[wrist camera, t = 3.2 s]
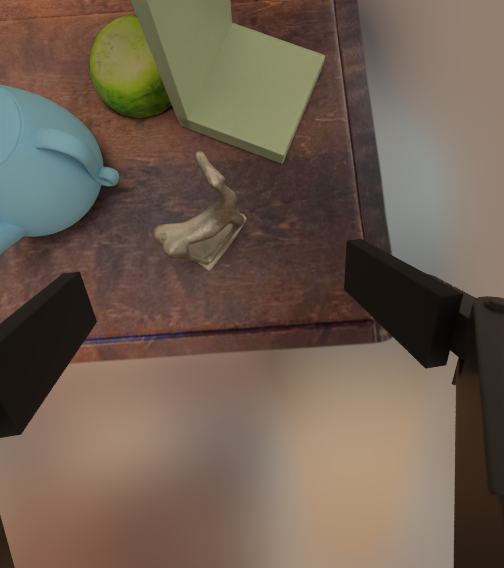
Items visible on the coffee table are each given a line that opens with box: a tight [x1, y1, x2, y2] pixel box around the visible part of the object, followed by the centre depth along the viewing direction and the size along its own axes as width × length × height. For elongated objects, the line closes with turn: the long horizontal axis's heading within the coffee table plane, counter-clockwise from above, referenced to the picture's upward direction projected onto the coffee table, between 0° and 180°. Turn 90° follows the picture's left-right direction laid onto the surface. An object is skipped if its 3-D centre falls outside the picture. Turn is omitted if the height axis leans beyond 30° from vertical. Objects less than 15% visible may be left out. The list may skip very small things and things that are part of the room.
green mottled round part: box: [89, 15, 172, 118], centre depth 35 cm, size 12×11×5 cm
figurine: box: [153, 151, 247, 271], centre depth 28 cm, size 11×6×15 cm, turn 99°
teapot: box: [0, 85, 119, 254], centre depth 30 cm, size 20×20×13 cm
